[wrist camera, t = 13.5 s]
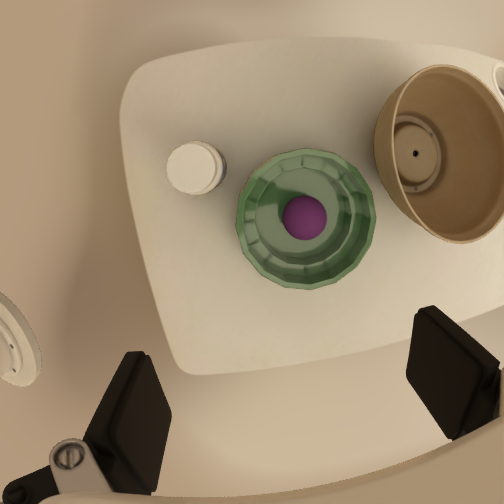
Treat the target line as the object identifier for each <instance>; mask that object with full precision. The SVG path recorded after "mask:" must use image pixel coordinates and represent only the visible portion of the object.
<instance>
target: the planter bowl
mask: <svg viewBox="0 0 504 504" xmlns="http://www.w3.org/2000/svg"><path fill="white" fill-rule="evenodd" d="M415 150H416V151H417V152H418V155H417V156H416V157H414V155H413V151H415ZM374 157H375V163H376V167H377V171H378V174H379V177H380V179H381V181H382V183H383V186H384V187H385V189H386V191H387V193H388V194H389V196H390V197H391V199H392V200H393V201H394V203H395V204H396V205H397V206H398V207H399V209H400V210H401V211H402V212H403V213H404V214H406V215H407V216H408V217H409V218H410V219H411V220H413V221H414V222H415V223H417V224H419V225H420V226H422V227H423V228H424V229H425V230H427V231H428V232H429V233H431V234H432V235H434V236H436V237H438V238H440V239H442V240H444V241H447V242H451V243H457V244H465V243H471V242H474V241H477V240H479V239H481V238H483V237H484V236H486V235H487V234H489V233H490V232H491V231H492V230H493V229H494V228H495V227H496V226H497V225H498V224H499V222H500V221H501V220H502V218H503V217H504V109H503V107H502V106H501V104H500V102H499V101H498V99H497V98H496V96H495V95H494V94H493V92H492V91H491V90H490V89H489V88H488V87H487V86H486V85H485V84H484V83H483V82H482V81H481V80H480V79H478V78H477V77H476V76H474V75H473V74H471V73H469V72H468V71H466V70H464V69H461V68H459V67H456V66H452V65H433V66H429V67H427V68H424V69H422V70H420V71H418V72H417V73H415V74H414V75H413V76H411V77H410V78H409V79H408V80H407V81H406V82H405V83H403V84H402V85H401V86H400V87H399V88H397V89H396V90H395V91H394V93H393V94H392V95H391V96H390V97H389V99H388V100H387V102H386V103H385V105H384V106H383V108H382V110H381V113H380V115H379V117H378V120H377V123H376V128H375V133H374Z"/></svg>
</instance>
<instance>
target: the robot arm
mask: <svg viewBox="0 0 504 504" xmlns="http://www.w3.org/2000/svg"><path fill="white" fill-rule="evenodd" d="M499 364H500V362H499V361H498V360H497V359H496V358H495V357H494V356H493V355H492V354H491V353H489V352H488V351H487V350H486V349H485V348H484V347H483V346H482V345H480V344H479V343H478V342H477V341H476V340H475V339H474V338H472V337H471V336H470V335H469V334H468V333H467V332H466V331H464V330H463V329H462V328H461V327H460V326H459V325H457V324H456V323H455V322H454V321H453V320H451V319H450V318H449V317H448V316H447V315H445V314H444V313H443V312H442V311H441V310H439V309H438V308H437V307H436V306H434V305H431V306H427V307H424V308H420V309H419V310H418V313H416V314H415V316H414V322H413V330H412V337H411V344H410V351H409V357H408V363H407V369H406V377H407V380H408V381H409V383H410V384H411V386H412V387H413V388H414V390H415V391H416V393H417V394H418V396H419V397H420V399H421V400H422V402H423V403H424V404H425V406H426V407H427V409H428V410H429V412H430V413H431V415H432V416H433V418H434V419H435V421H436V422H437V424H438V425H439V427H440V428H441V430H442V431H443V433H444V434H445V436H446V437H447V438H448V439H452V442H450V443H448V444H446V445H444V446H442V447H439V448H437V449H435V450H432V451H430V452H428V453H426V454H423V455H421V456H418V457H415V458H413V459H410V460H408V461H405V462H402V463H399V464H397V465H394V466H391V467H388V468H385V469H382V470H379V471H376V472H372V473H369V474H365V475H362V476H358V477H354V478H351V479H347V480H343V481H339V482H335V483H330V484H325V485H321V486H316V487H311V488H305V489H299V490H293V491H287V492H279V493H271V494H262V495H252V496H237V497H209V498H198V497H197V498H195V497H162V496H151V492H155V491H156V489H157V484H158V479H159V474H160V469H161V464H162V460H163V455H164V451H165V446H166V441H167V437H168V432H169V427H170V423H171V418H172V414H171V410H170V407H169V404H168V402H167V400H166V397H165V395H164V392H163V390H162V387H161V384H160V382H159V379H158V377H157V374H156V372H155V369H154V366H153V363H152V360H151V358H150V356H149V355H145V353H144V352H143V351H134V352H127V353H126V354H125V356H124V358H123V360H122V361H121V364H120V365H119V367H118V369H117V371H116V373H115V375H114V376H113V379H112V380H111V382H110V384H109V386H108V388H107V390H106V392H105V394H104V396H103V398H102V400H101V402H100V404H99V406H98V408H97V410H96V412H95V414H94V416H93V418H92V420H91V422H90V424H89V426H88V428H87V431H86V432H85V435H84V437H83V440H80V439H75V438H72V439H66V440H63V441H61V442H59V443H58V444H56V445H55V446H54V447H53V449H52V450H51V452H50V455H49V463H50V465H48V466H46V467H44V468H42V469H39V470H37V471H35V472H33V473H30V474H28V475H26V476H23V477H21V478H19V479H16V480H14V481H12V482H10V483H9V484H8V485H7V486H6V487H5V489H4V491H3V495H2V499H3V502H2V503H1V502H0V504H504V368H503V369H502V370H500V369H499V368H498V367H499ZM21 368H22V355H21V351H20V349H19V346H18V344H17V341H16V339H15V337H14V336H13V334H12V332H11V331H10V330H9V328H8V327H7V325H6V324H5V323H4V322H3V321H2V320H1V319H0V378H2V376H3V375H4V374H5V375H7V376H15V375H16V374H18V373H19V371H20V370H21Z"/></svg>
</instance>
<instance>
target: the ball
mask: <svg viewBox="0 0 504 504" xmlns="http://www.w3.org/2000/svg"><path fill="white" fill-rule="evenodd" d="M282 220H283V225H284V227H285V229H286V231H287V232H288V233H289V234H290V235H291V236H292V237H294V238H296V239H299V240H311V239H314V238H316V237H317V236H319V235H320V234H321V233H322V232H323V230H324V228H325V226H326V223H327V213H326V210H325V208H324V206H323V205H322V203H321V202H320V201H319V200H317V199H316V198H314V197H311V196H305V195H304V196H298V197H295V198H293V199H292V200H290V201H289V202H288V203H287V205H286V206H285V208H284V211H283V215H282Z"/></svg>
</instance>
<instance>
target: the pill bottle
mask: <svg viewBox="0 0 504 504" xmlns="http://www.w3.org/2000/svg"><path fill="white" fill-rule="evenodd" d="M166 174H167V178H168V180H169V182H170V183H171V185H172V186H173V187H174V188H175V189H177V190H179V191H181V192H183V193H185V194H188V195H202V194H205V193H207V192H209V191H211V190H212V189H213V188H215V187H217V186H218V185H219V184H220V183H221V182H222V180H223V179H224V177H225V174H226V161H225V159H224V157H223V155H222V154H221V153H220V152H219V151H218V150H217V149H215V148H214V147H213V146H211V145H210V144H208V143H205V142H202V141H192V142H188V143H185V144H183V145H181V146H179V147H178V148H176V149H175V150H174V151H173V152H172V153H171V154H170V156H169V158H168V160H167V163H166Z"/></svg>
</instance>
